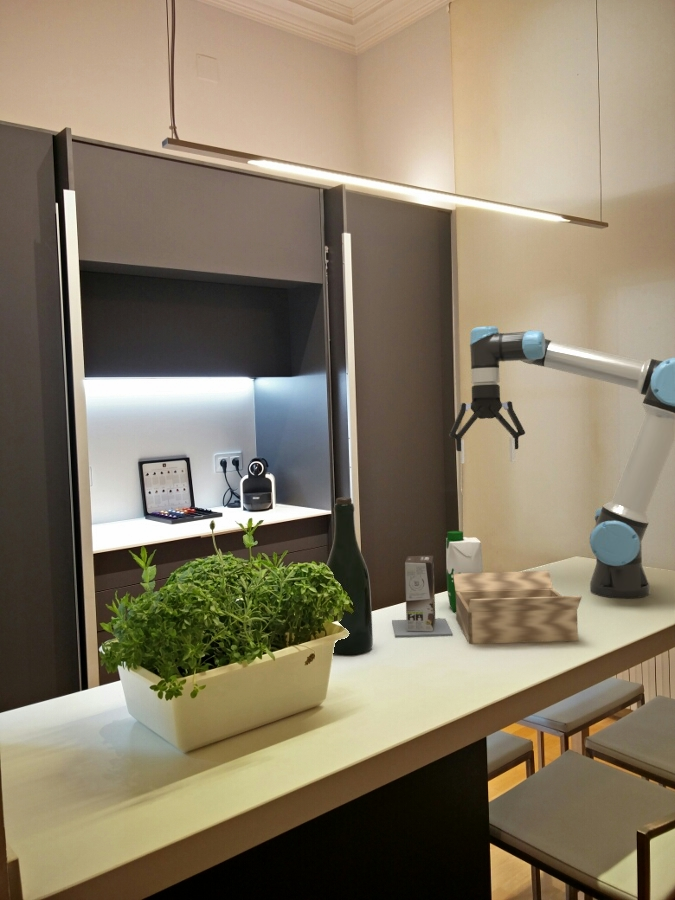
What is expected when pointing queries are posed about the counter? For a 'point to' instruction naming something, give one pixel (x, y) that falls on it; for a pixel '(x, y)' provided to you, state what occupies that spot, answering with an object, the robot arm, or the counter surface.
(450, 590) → the milk carton
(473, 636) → the wooden box frame
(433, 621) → the coffee box
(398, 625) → the mat
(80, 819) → the counter surface
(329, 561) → the dark green wine bottle
